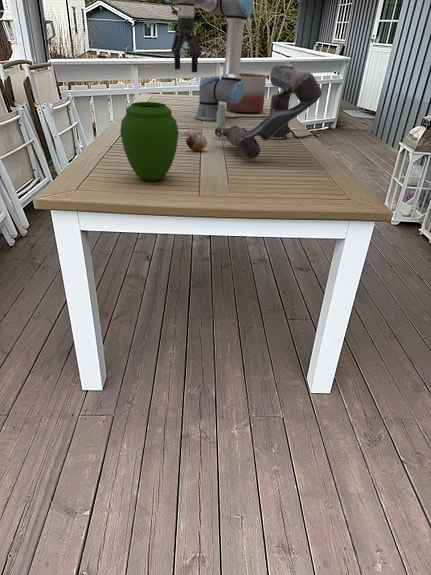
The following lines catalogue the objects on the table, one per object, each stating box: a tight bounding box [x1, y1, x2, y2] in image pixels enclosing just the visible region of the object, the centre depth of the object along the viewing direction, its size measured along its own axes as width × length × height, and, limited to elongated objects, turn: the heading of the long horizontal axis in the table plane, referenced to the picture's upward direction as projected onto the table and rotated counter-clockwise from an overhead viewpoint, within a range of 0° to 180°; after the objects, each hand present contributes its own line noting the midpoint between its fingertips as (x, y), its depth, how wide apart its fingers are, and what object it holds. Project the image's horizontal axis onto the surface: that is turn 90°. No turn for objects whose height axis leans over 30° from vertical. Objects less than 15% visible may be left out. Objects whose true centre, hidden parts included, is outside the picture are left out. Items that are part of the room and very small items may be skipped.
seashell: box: [185, 131, 208, 152], centre depth 181 cm, size 10×6×8 cm, turn 97°
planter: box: [225, 72, 267, 114], centre depth 275 cm, size 25×25×22 cm
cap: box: [180, 129, 190, 136], centre depth 210 cm, size 4×4×2 cm
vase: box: [119, 101, 179, 182], centre depth 140 cm, size 20×20×24 cm
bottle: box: [215, 103, 226, 140], centre depth 202 cm, size 4×4×16 cm
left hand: (185, 70), depth 195 cm, fingers open, 13 cm apart
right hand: (226, 129), depth 193 cm, fingers open, 8 cm apart
